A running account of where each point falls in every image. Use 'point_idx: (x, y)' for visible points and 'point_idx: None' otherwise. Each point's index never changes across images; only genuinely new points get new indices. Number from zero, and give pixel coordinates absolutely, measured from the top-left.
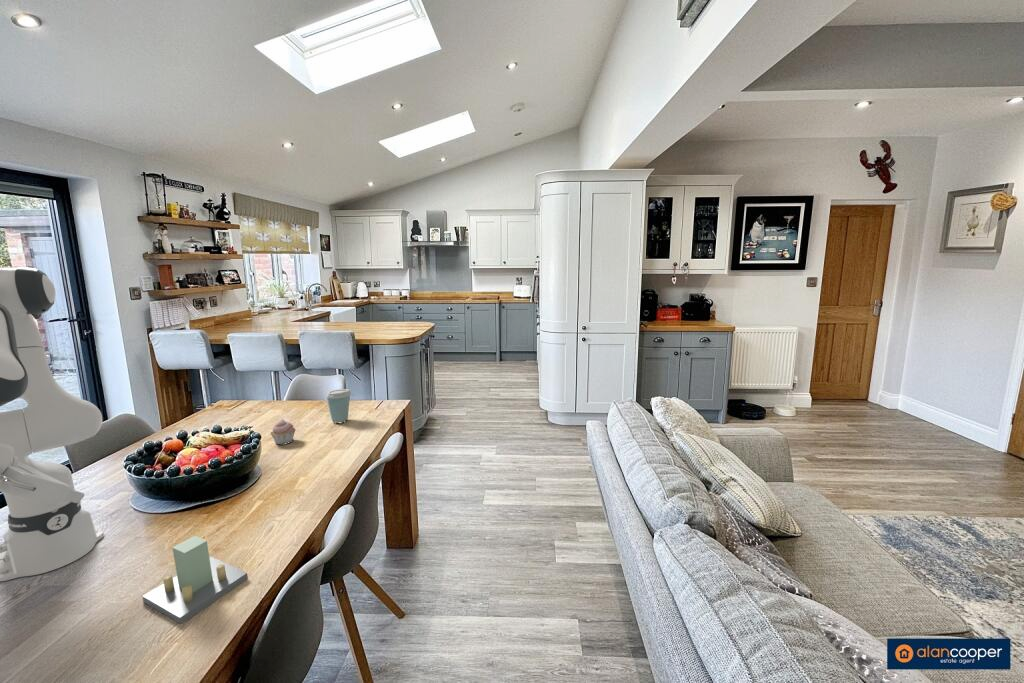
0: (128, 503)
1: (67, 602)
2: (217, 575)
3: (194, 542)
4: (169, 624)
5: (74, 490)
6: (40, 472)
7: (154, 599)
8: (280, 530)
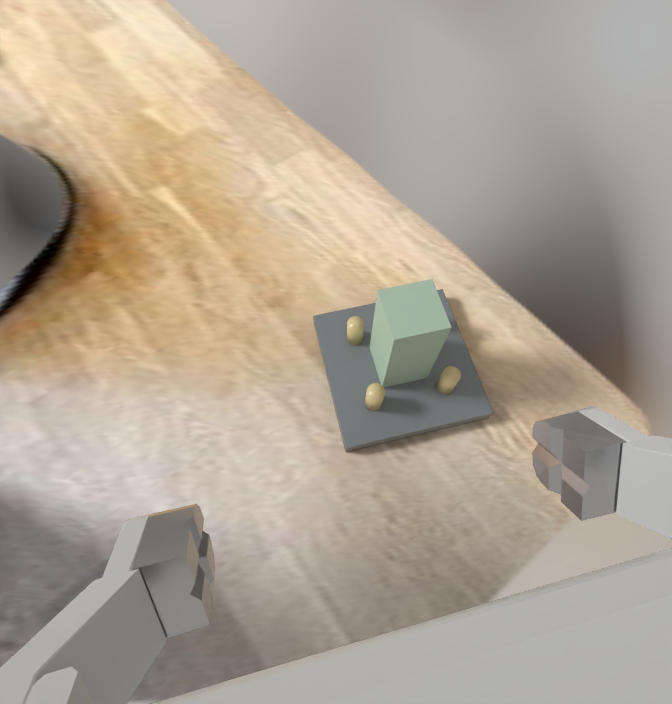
0: None
1: None
2: None
3: (414, 299)
4: (470, 433)
5: (608, 441)
6: (543, 700)
7: (382, 432)
8: (322, 207)
